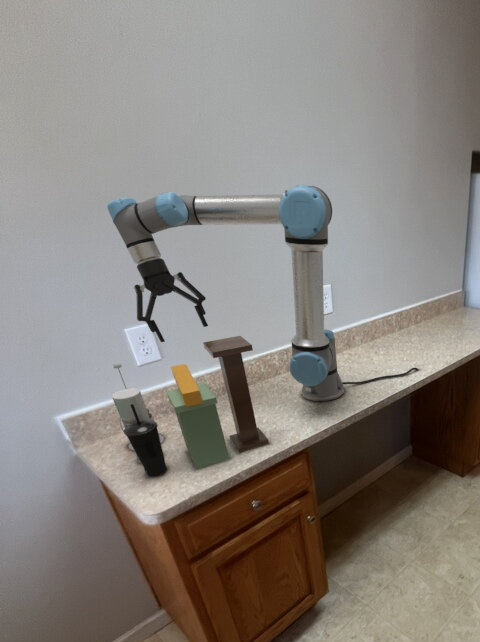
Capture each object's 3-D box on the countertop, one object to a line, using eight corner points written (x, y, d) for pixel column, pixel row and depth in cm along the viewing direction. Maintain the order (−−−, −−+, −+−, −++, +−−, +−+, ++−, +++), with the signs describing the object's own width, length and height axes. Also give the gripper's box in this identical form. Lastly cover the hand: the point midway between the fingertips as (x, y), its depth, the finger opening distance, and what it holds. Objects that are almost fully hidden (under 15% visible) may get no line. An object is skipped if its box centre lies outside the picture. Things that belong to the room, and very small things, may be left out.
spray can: (133, 464, 115) (106, 399, 105) (144, 452, 121) (119, 388, 110) (157, 463, 116) (132, 398, 105) (166, 451, 121) (144, 387, 110)
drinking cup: (178, 464, 115) (155, 398, 105) (162, 480, 109) (137, 412, 98) (152, 463, 116) (126, 397, 105) (135, 479, 109) (106, 411, 99)
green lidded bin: (232, 459, 117) (216, 397, 107) (194, 470, 112) (174, 407, 102) (220, 441, 125) (205, 382, 115) (185, 451, 121) (166, 391, 111)
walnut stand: (271, 443, 123) (251, 344, 107) (237, 454, 119) (212, 352, 103) (260, 430, 130) (240, 335, 115) (227, 439, 126) (202, 342, 110)
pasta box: (203, 403, 104) (199, 390, 102) (186, 407, 102) (182, 394, 100) (189, 375, 120) (185, 363, 118) (174, 378, 118) (170, 366, 117)
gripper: (188, 251, 127) (219, 320, 137) (101, 275, 116) (141, 348, 125) (194, 247, 121) (226, 320, 131) (103, 272, 110) (145, 349, 119)
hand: (185, 334), depth 128 cm, fingers open, 13 cm apart
